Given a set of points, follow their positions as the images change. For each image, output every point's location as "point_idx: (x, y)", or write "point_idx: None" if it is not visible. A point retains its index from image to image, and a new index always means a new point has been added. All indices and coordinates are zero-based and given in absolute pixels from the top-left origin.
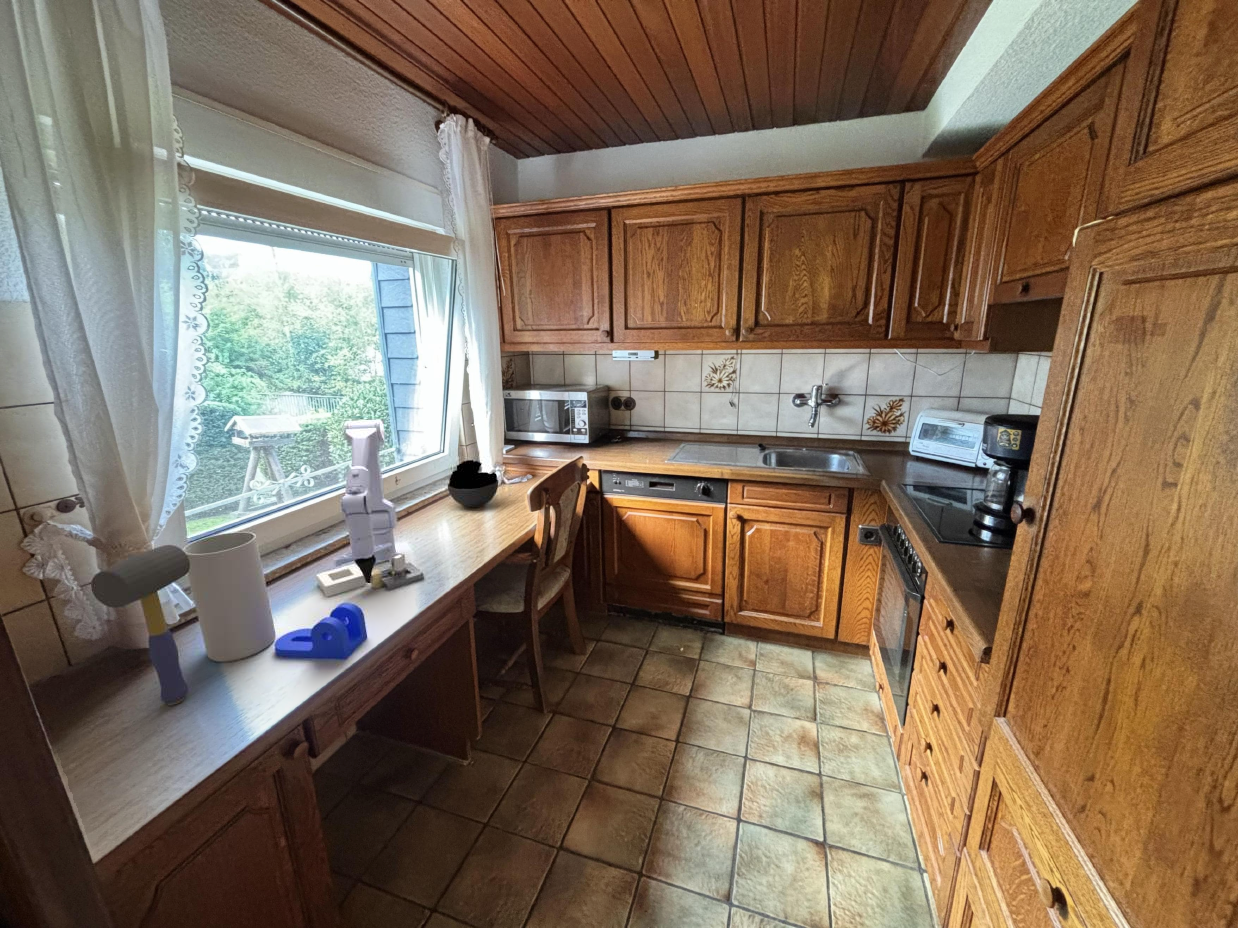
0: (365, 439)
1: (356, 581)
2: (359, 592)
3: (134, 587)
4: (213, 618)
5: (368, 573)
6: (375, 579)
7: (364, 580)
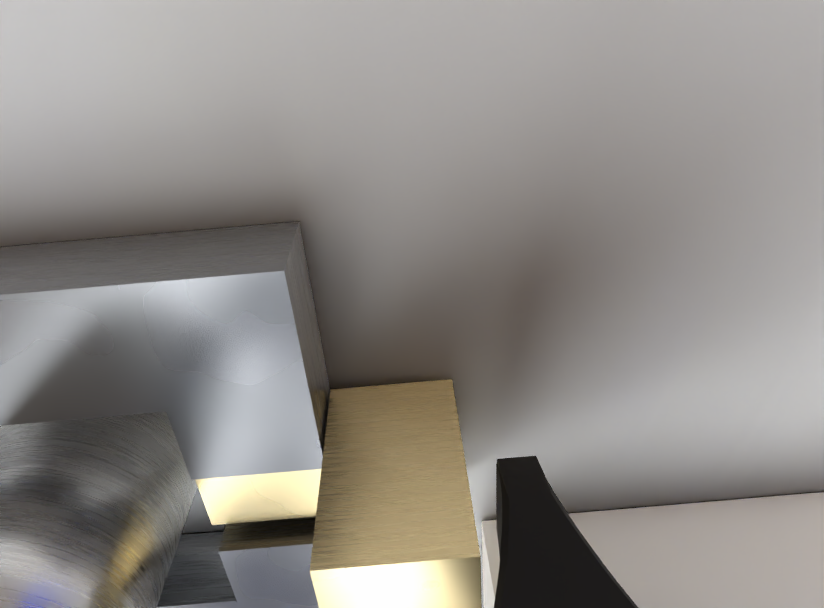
0: None
1: None
2: (622, 393)
3: None
4: None
5: (561, 603)
6: (428, 478)
7: None
